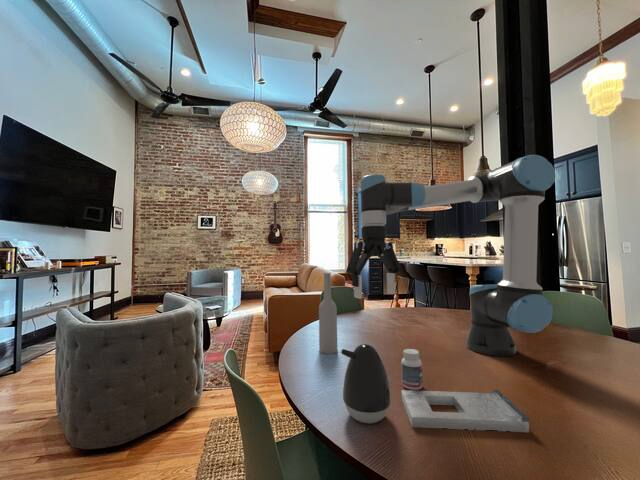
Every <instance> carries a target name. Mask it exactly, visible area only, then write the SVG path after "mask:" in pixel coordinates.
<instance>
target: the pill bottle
mask: <svg viewBox="0 0 640 480" xmlns="http://www.w3.org/2000/svg"><path fill="white" fill-rule="evenodd" d="M402 354H403V358H402V359H401V362H400V364H401V385H402V386H403V387H404V388H406V389H408V390H413V391H419V390H421V389H422V388H423V382H424V381H423V363H422V360H421V359H420V352H419V350H418V349H415V348H413V349H412V348H406V349H405V348H404V349H403V351H402Z"/></svg>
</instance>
